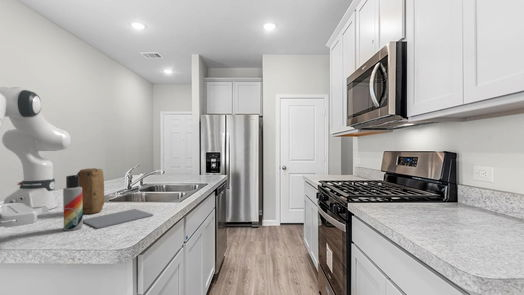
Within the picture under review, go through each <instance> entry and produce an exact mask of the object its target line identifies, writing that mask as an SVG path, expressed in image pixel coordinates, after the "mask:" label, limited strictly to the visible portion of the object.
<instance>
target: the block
mask: <svg viewBox="0 0 524 295" xmlns="http://www.w3.org/2000/svg"><path fill="white" fill-rule="evenodd" d="M76 175H79V187H82V207H83V214H84V215H85V214H86V215H87V214H88V215H89V214H90V215H92V214H96V213H101V212H102V210H103V207H104V204H105V177H104V170H103V169H102V168H84V169H83V168H82V169H80V170H79V171H78V172H77V173H76Z"/></svg>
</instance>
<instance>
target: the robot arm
mask: <svg viewBox="0 0 524 295" xmlns="http://www.w3.org/2000/svg"><path fill="white" fill-rule="evenodd" d="M41 109H42V100H41V97H40V96H39V95H38V94H37V93H36V92H34V91H31V90H28V89H26V88H23V87H19V86H14V87H13V86H12V87H5V86H0V129H1V127H2V125H3V122H4V119H5V117H8V118H9V120H10V122H11V124H12V125H13V127H14V128H13V129H8V130H6V131H5V132H4V133H3V135H2V137H1V141H2V145H3V146H4V147H5V149H7V150H9V151H11V152H12V153H13V154H15V155H16V156H17V157H18V159H19V160H20V163H21V165H22V172H23V173H22V174H23V180H22V181H21V182H18V183H17V186H19V188H18V189H16V190H15V191H14V192H12V193H10V194H9V195H8V196H6V197H5V199H4V201H3V203H0V228H2V227H3V228H13V227H19V226H25V225H31V224H35V223H37V222H38V215H41V214H46V213H49V210H51V209H55V208H57V207H59V205H58V202H57V198H56V192H55V187H56V181H55V177H54V164H53V162H52V161H51V160H50V159H47V158H45V157H42V156H41V155H40V154H39V152H56V151H63V150H67V149H68V148H69V146H71V142H72V137H71V135H70V133H69V132H68V131H67V130H64V129H62V128H59V127H57V126H55V125H53V124H52V123H51V122H50V121H48V120H47V119H46V118H45V116H44V114H43V112H42V110H41Z"/></svg>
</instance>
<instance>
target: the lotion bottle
mask: <svg viewBox="0 0 524 295" xmlns="http://www.w3.org/2000/svg"><path fill="white" fill-rule="evenodd" d="M65 177H66V178H65V183H66V186H65V187H64V188H63V190H62V192H63V193H62V198H63V200H62V203H63V209H62V210H63V230H64V231H66V232H71V231H76V230H77V231H78V230H80V229H82V228H83V226H84V225H83V224H84V223H83V219H84V218H83V217H84V216H83V214H84V213H83V207H82V187H79V175H77V174H71V175H67V176H65Z"/></svg>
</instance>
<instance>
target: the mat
mask: <svg viewBox="0 0 524 295" xmlns="http://www.w3.org/2000/svg"><path fill="white" fill-rule="evenodd" d="M149 217H154V213H153V214H152V213H150V212H147V211H143V210H140V209H136V208H133V209H128V210H122V211H118V212H113V213H107V214H103V215H99V216H94V217H88V218H85V219H84V218H83V224H86V225H88V226H90V227H91V228H93V229H96V230H100V229H103V228H108V227H113V226H116V225H120V224H124V223H129V222H133V221H137V220H141V219H145V218H149Z"/></svg>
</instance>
